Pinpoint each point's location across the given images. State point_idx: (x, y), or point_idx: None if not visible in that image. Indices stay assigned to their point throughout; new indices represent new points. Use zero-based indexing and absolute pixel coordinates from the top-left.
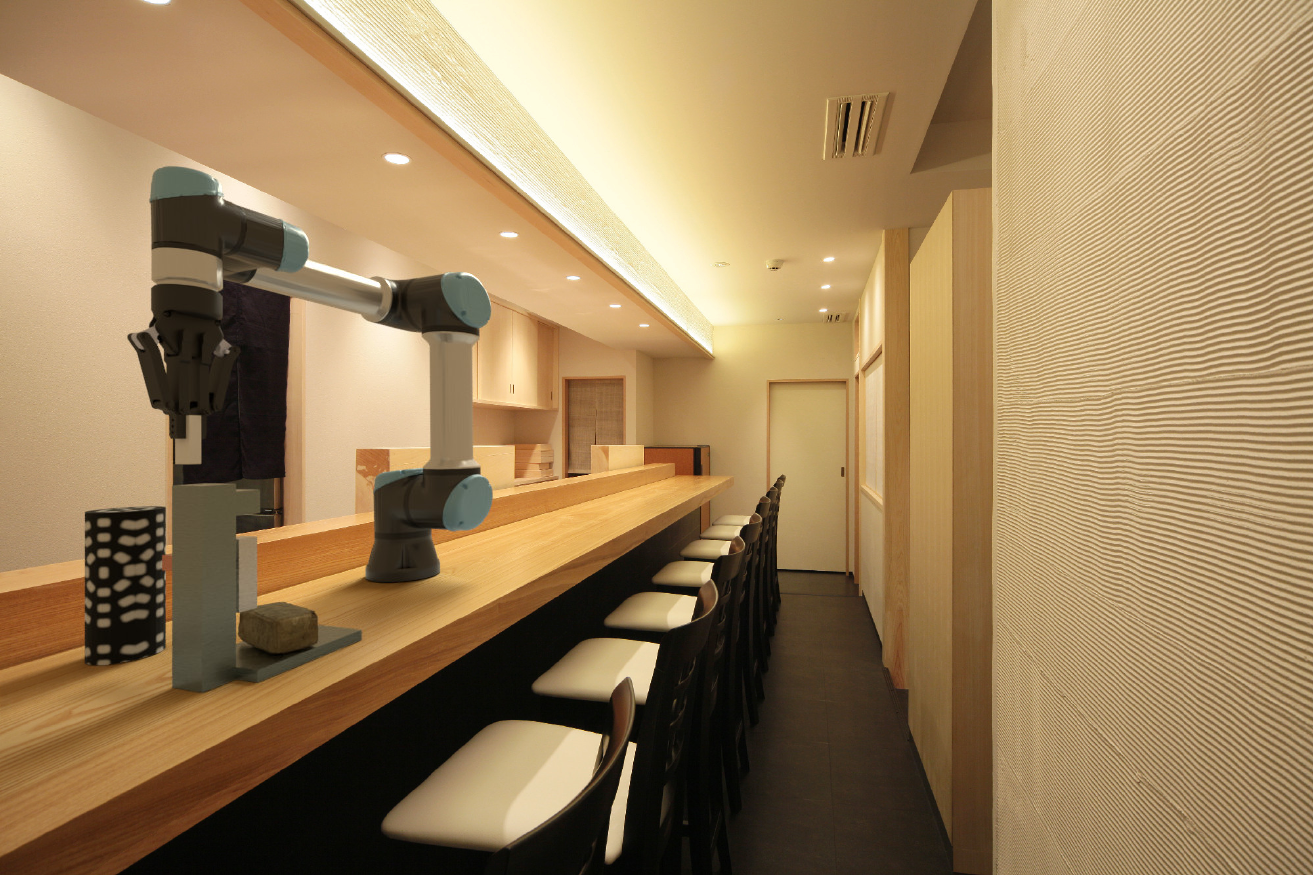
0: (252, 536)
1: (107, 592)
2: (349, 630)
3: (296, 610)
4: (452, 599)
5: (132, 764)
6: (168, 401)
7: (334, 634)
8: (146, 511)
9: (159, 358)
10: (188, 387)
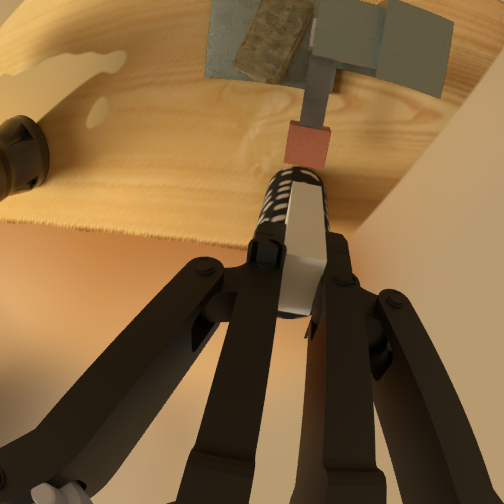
0: (313, 26)
1: (327, 216)
2: (218, 1)
3: (270, 13)
4: (74, 18)
5: (468, 9)
6: (398, 309)
7: (234, 6)
8: None
9: (461, 467)
10: (328, 349)
